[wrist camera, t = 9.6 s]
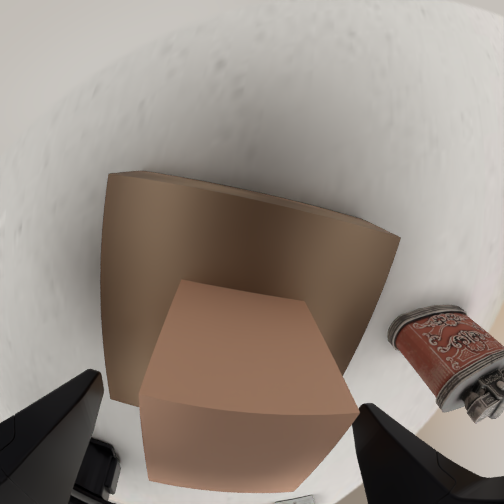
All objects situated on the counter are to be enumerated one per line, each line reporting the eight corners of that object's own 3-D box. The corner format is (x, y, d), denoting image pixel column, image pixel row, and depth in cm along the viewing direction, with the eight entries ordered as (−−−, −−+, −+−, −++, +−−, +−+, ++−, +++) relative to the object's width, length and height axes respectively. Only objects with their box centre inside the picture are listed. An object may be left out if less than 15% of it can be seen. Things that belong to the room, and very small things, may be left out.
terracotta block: (171, 372, 12) (148, 480, 6) (181, 279, 10) (138, 393, 5) (273, 386, 12) (293, 491, 7) (304, 301, 11) (360, 412, 5)
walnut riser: (128, 357, 16) (110, 398, 12) (141, 170, 13) (108, 173, 9) (300, 384, 18) (312, 426, 14) (361, 219, 14) (400, 237, 10)
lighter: (381, 350, 17) (451, 451, 8) (394, 310, 16) (484, 409, 7) (453, 335, 18) (520, 404, 9) (466, 300, 17) (544, 364, 8)
